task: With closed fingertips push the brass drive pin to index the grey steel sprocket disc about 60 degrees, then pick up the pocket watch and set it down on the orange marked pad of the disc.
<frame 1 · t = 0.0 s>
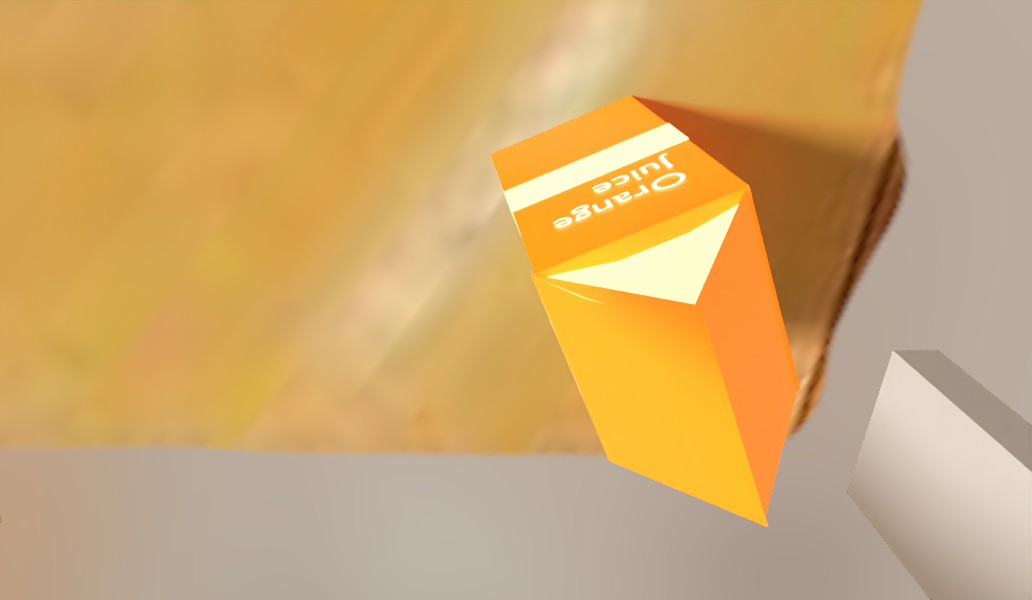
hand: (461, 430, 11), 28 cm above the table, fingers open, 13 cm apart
orange juice: (586, 200, 40), on the table
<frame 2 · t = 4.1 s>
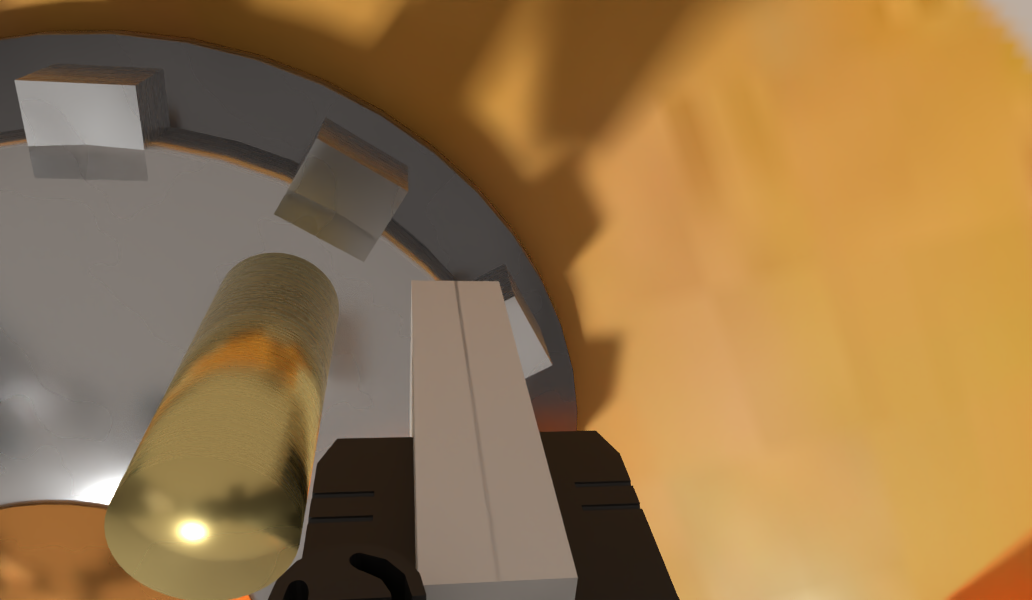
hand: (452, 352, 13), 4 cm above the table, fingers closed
base plate: (182, 447, 18), on the table
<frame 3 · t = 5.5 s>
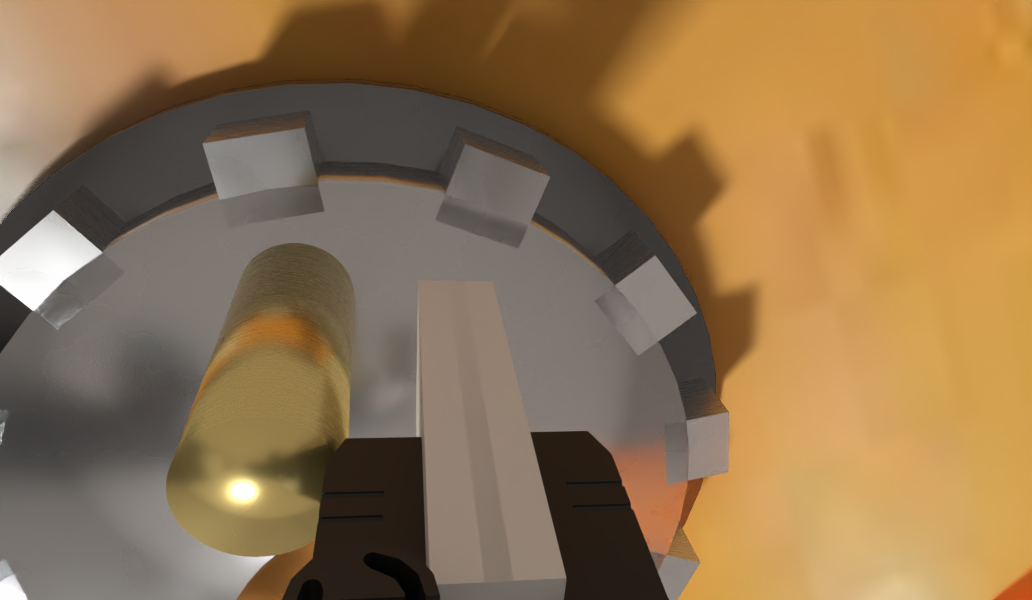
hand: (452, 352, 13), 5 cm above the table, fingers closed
base plate: (358, 454, 20), on the table
sprocket: (356, 592, 16), point 5 cm above the table, hinge at 40.9°, touching gripper
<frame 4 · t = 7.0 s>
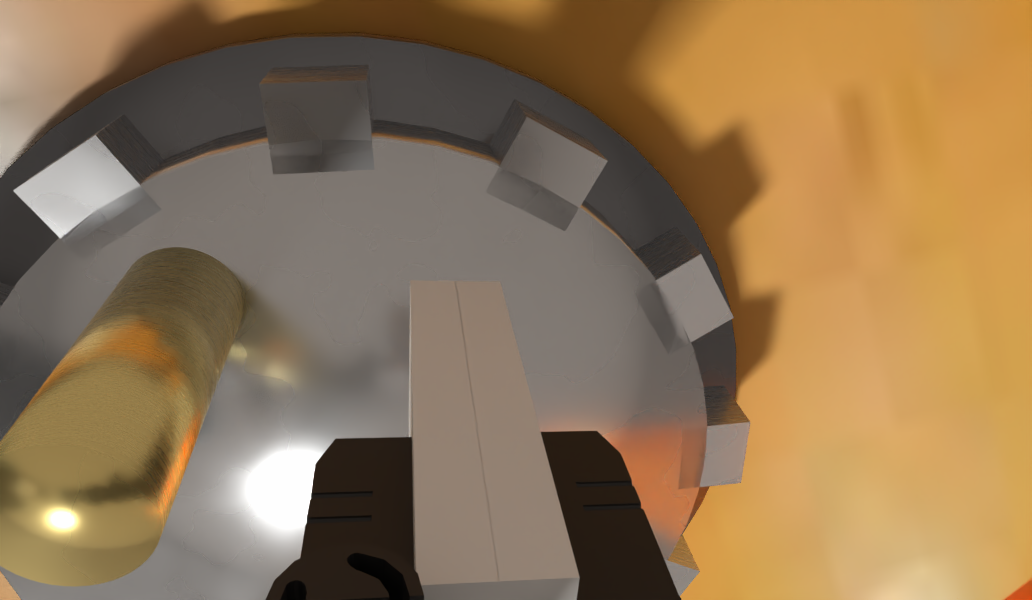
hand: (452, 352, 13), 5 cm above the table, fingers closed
base plate: (366, 426, 19), on the table
sprocket: (360, 565, 15), point 5 cm above the table, hinge at 64.4°
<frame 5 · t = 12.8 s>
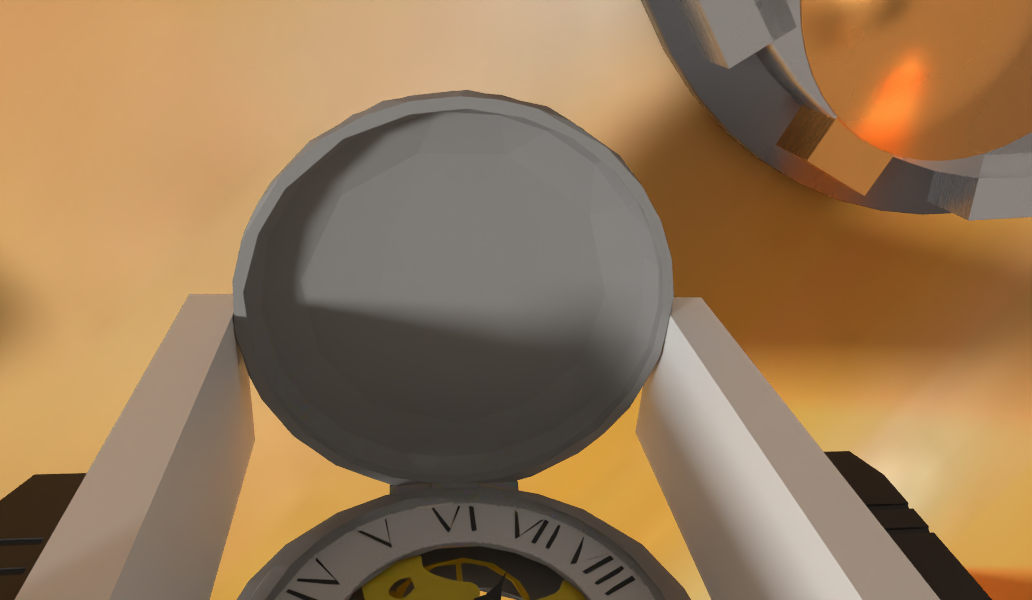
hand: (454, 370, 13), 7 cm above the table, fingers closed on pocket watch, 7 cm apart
pocket watch: (444, 347, 13), point 7 cm above the table, touching gripper
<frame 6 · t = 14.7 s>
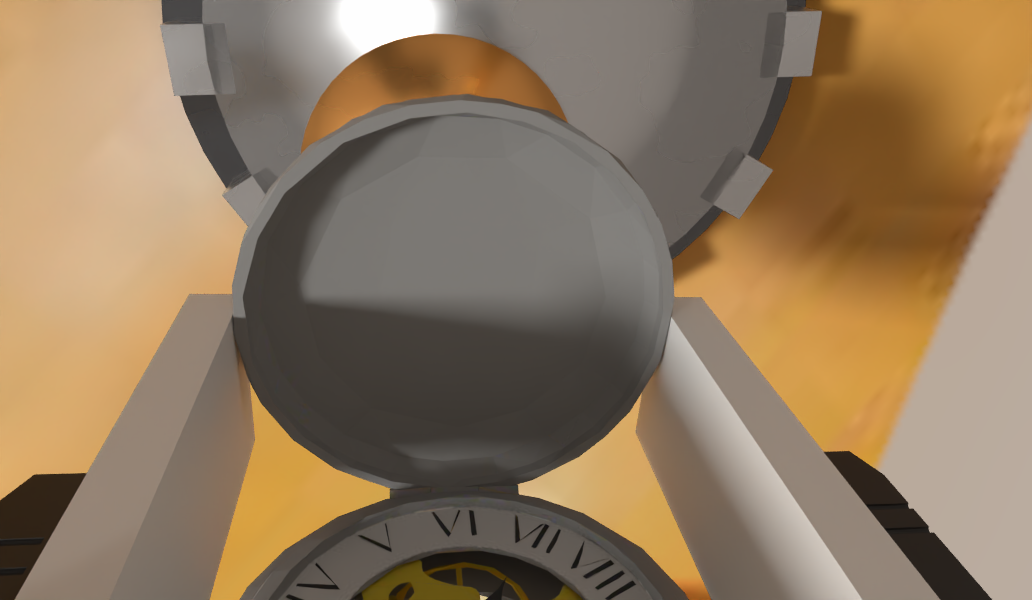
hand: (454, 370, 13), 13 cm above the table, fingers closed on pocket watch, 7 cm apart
base plate: (497, 39, 23), on the table
pocket watch: (444, 351, 13), point 13 cm above the table, touching gripper
sprocket: (518, 65, 19), point 5 cm above the table, hinge at 64.4°
when the fingers open (3 cm above the table, at t = 16.7 s): pocket watch stays where it is, resting on sprocket.
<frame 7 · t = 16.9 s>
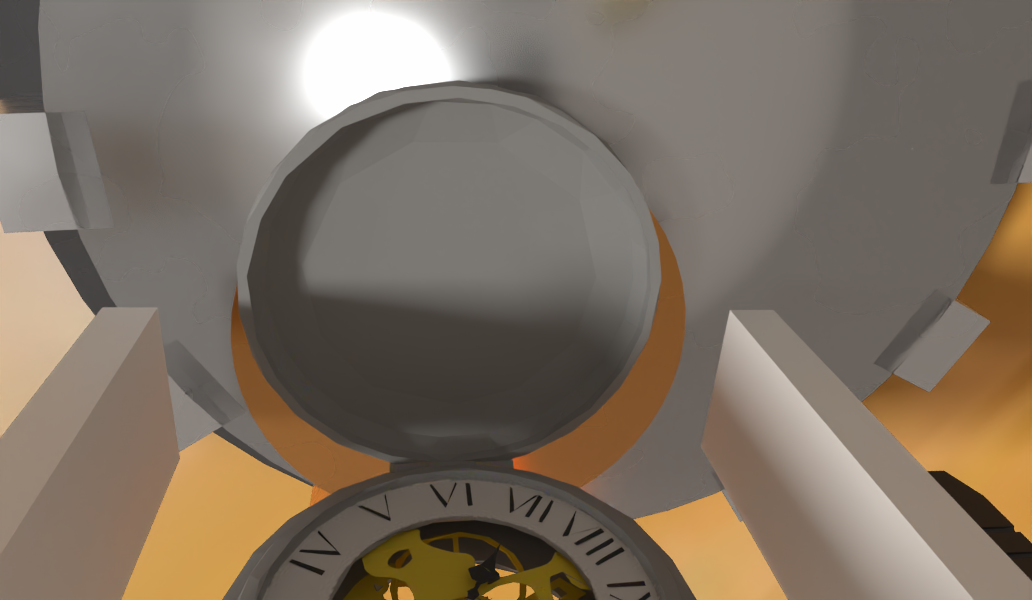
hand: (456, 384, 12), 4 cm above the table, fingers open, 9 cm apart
base plate: (555, 116, 15), on the table
pocket watch: (441, 330, 14), point 2 cm above the table, touching sprocket
sprocket: (616, 194, 10), point 5 cm above the table, hinge at 64.4°, touching pocket watch
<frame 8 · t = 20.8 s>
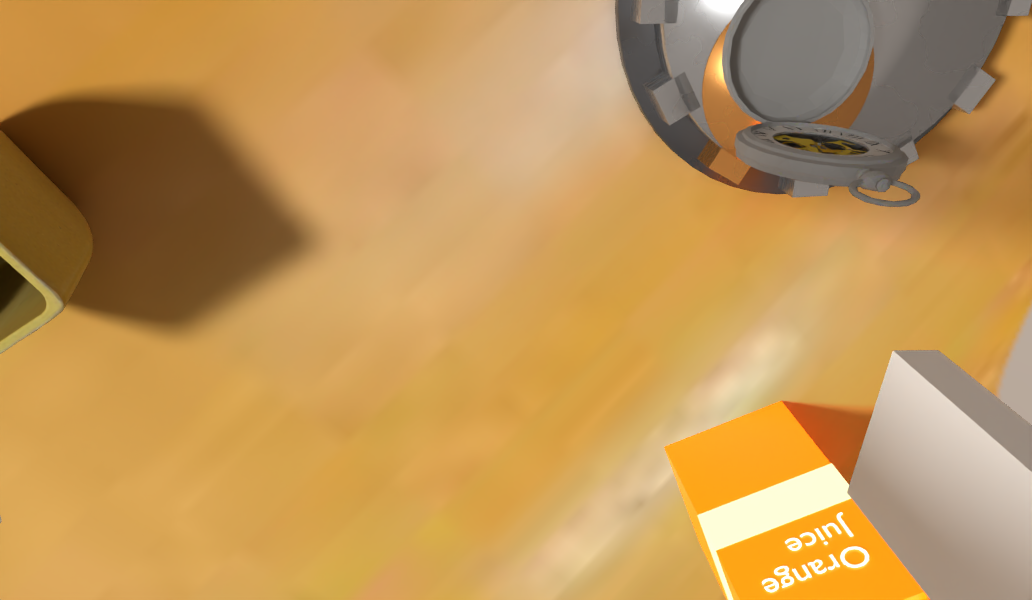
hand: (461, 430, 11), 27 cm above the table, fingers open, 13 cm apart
orange juice: (737, 473, 48), on the table
pocket watch: (779, 73, 34), point 2 cm above the table, touching sprocket
sprocket: (871, 2, 31), point 5 cm above the table, hinge at 64.4°, touching pocket watch
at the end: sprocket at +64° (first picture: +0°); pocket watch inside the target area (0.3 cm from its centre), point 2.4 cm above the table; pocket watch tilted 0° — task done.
